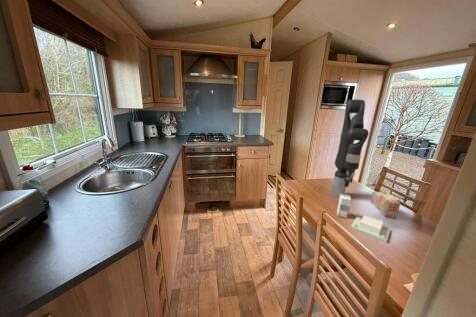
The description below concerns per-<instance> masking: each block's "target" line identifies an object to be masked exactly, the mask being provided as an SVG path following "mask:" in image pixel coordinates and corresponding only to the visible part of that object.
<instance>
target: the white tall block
mask: <svg viewBox="0 0 476 317" xmlns="http://www.w3.org/2000/svg"><path fill="white" fill-rule="evenodd" d="M351 202H352V198H351V196H350V195H347V194H344V195H342V194H340V198H338V204H337V210H336V214H337V217H339V218H345V219H347V218H348V215H349V211H350V207H351Z"/></svg>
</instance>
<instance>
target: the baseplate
mask: <svg viewBox="0 0 476 317" xmlns="http://www.w3.org/2000/svg"><path fill="white" fill-rule="evenodd" d="M383 223H384V221H383V220H380V219H378V218H374V217H371V216H368V215H366V214H363V215H362V217H360V216H355V219H354V220H353V221H352V223H351V225H350V229H351V230H354V231H357V232H359V233H362V234H364V235H367V236H369V237H372V238H374V239H376V240H379V241H381V242H384V243H387V242H388V238H389V236H390V231H391V228H390V227H388V226H385V225H383Z"/></svg>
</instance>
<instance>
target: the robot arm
mask: <svg viewBox="0 0 476 317" xmlns="http://www.w3.org/2000/svg"><path fill="white" fill-rule="evenodd" d="M365 108H366V102H365V100H364V99H348V100H347V102H346V105H345V109H344V110H345V111H344V118H343V123H342V124H343V125H342V128H341V133H340V140H339V144H338V151H337V152H336V153H337V154H336V157H335V161H334V165H335V168H336V171H334V177H333V183H332V184H331V190H330V196H332V197H334V198H336V199H339V198H340V194H342V195H346V194H345V193H346V188H348V187H349V186H350V184H352V183H353V181H354V180H353V178H354V177H355V176H356V175H355V174H356V171H357V170H358V169H359V167H360V162H361V156H362V150H363V147H364V144H365V143H366V140H367V139H368V137H369V135H370V134H369V131H368V129H366V128H364V127H365V126H364V124H365V123H364V122H365V121H364V118H365V111H366V110H365ZM351 114H355V115H353V116H352V117H351ZM355 141H357V142H355Z"/></svg>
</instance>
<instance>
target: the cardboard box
mask: <svg viewBox="0 0 476 317" xmlns="http://www.w3.org/2000/svg"><path fill="white" fill-rule="evenodd" d="M370 202H371V204H372V205H373V207H375V208H376V209H377V210H378V212H380V214H381V215H382V217H384V219H392V220H396V219H397V216H398V212H399V209H400V206H401V202H400V201H398V199H396V198H395V197H394V196H393V195H391V194H390V193H384V192H383V191H372V196H371V200H370Z"/></svg>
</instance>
